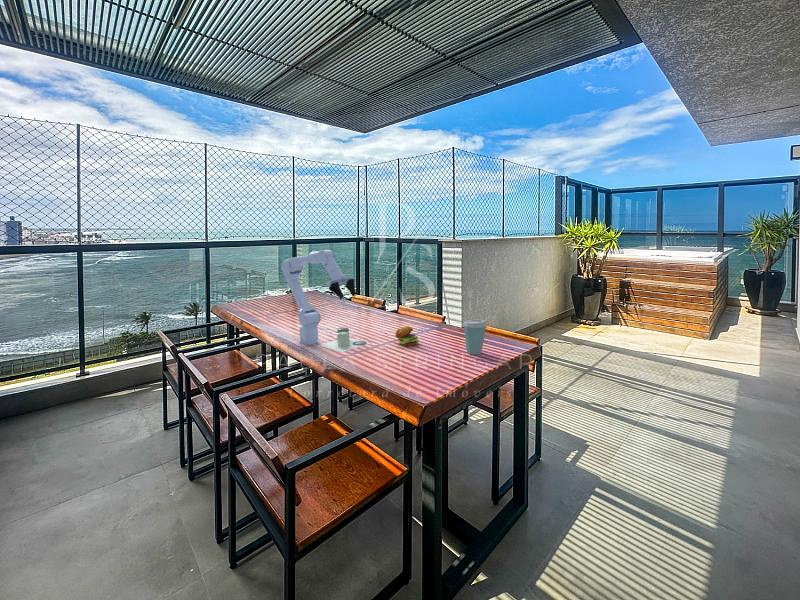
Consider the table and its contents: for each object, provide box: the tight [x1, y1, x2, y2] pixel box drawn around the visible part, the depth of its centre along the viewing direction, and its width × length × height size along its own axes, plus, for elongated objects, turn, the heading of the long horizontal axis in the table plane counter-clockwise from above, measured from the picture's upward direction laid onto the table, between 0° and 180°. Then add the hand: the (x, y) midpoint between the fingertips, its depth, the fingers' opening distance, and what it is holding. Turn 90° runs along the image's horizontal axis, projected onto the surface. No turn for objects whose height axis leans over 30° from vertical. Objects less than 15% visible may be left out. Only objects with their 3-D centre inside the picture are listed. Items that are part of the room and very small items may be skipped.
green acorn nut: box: [336, 331, 350, 347], centre depth 184 cm, size 6×6×6 cm
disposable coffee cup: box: [462, 319, 487, 355], centre depth 170 cm, size 11×11×15 cm
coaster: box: [353, 340, 368, 346], centre depth 187 cm, size 7×7×1 cm
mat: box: [317, 337, 371, 353], centre depth 186 cm, size 18×19×1 cm
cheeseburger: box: [394, 325, 420, 347], centre depth 186 cm, size 10×11×10 cm
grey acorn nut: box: [336, 327, 350, 334], centre depth 193 cm, size 6×6×6 cm
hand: (348, 296), depth 171 cm, fingers open, 7 cm apart
